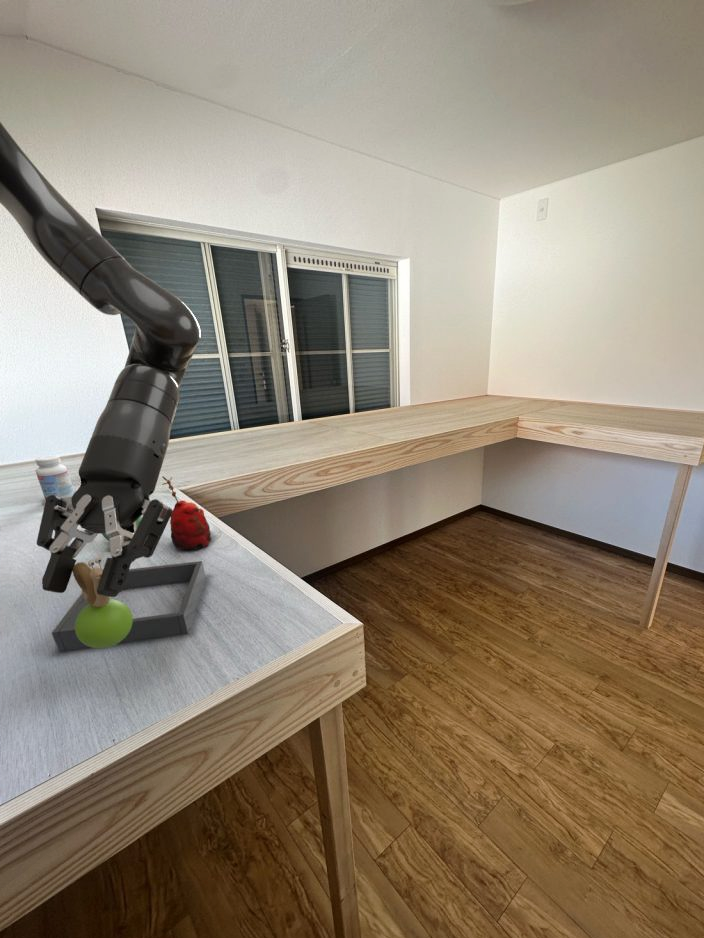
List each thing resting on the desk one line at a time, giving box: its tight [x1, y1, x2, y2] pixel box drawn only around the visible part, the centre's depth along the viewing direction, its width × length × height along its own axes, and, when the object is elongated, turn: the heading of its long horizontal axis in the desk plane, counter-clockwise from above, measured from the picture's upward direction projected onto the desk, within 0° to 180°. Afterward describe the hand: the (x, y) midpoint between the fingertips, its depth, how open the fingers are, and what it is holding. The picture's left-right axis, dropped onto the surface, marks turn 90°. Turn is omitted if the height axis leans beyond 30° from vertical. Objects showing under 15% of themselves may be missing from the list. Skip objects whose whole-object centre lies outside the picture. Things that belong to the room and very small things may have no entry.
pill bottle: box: [34, 454, 76, 501], centre depth 102 cm, size 6×6×11 cm
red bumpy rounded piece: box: [161, 475, 212, 551], centre depth 79 cm, size 8×7×15 cm
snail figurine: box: [72, 557, 134, 649], centre depth 45 cm, size 5×6×12 cm
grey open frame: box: [51, 560, 207, 654], centre depth 61 cm, size 16×15×4 cm
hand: (80, 592), depth 43 cm, fingers closed on snail figurine, 5 cm apart
